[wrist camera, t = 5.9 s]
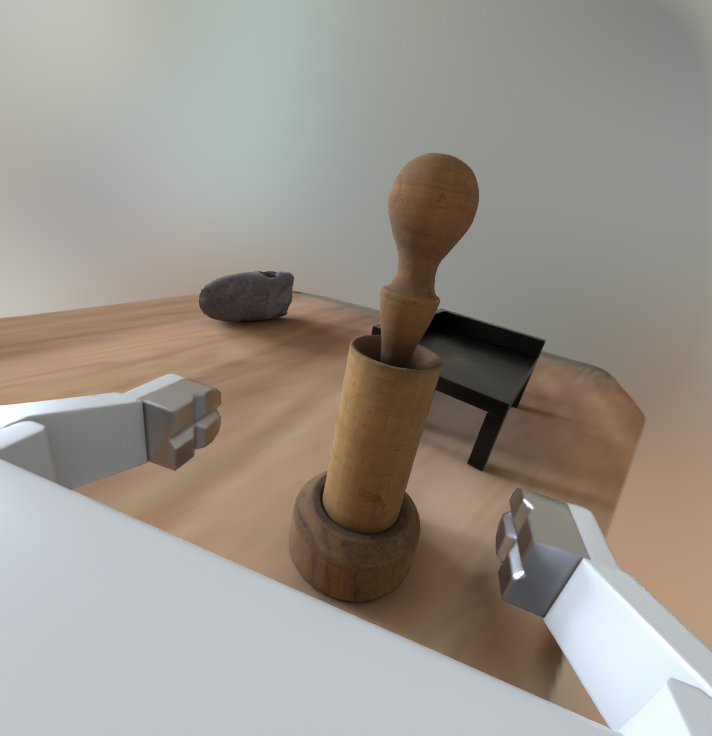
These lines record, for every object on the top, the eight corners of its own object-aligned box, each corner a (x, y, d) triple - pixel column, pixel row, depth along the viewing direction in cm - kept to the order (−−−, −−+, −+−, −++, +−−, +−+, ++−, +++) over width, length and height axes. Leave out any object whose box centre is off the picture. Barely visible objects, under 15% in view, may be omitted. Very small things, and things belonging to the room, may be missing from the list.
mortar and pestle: (357, 481, 22) (428, 178, 15) (435, 555, 18) (581, 185, 11) (266, 525, 18) (305, 130, 11) (340, 637, 14) (481, 111, 7)
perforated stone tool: (207, 329, 42) (207, 274, 40) (190, 317, 45) (189, 265, 43) (301, 320, 53) (306, 276, 50) (282, 311, 56) (285, 269, 53)
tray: (518, 404, 38) (546, 339, 35) (482, 471, 26) (520, 379, 23) (424, 367, 44) (440, 308, 41) (356, 406, 31) (372, 325, 28)
